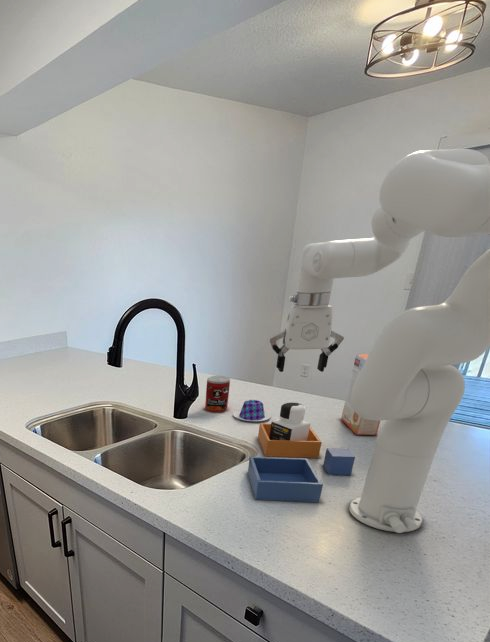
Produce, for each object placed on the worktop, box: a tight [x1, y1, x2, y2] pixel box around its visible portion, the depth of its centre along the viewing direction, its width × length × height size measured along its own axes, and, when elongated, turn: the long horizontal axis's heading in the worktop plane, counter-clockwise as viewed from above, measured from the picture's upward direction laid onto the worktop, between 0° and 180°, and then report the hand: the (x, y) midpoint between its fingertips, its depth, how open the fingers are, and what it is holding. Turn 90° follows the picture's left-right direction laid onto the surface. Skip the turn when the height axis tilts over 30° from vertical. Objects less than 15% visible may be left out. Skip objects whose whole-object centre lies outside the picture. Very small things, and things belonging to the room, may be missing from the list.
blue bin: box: [247, 456, 324, 503], centre depth 102 cm, size 13×13×5 cm
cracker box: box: [340, 353, 381, 436], centre depth 128 cm, size 14×6×21 cm, turn 168°
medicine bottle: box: [269, 402, 311, 441], centre depth 120 cm, size 7×7×12 cm
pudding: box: [232, 399, 272, 422], centre depth 145 cm, size 12×12×5 cm
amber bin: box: [257, 422, 322, 459], centre depth 122 cm, size 13×13×5 cm
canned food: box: [204, 375, 231, 413], centre depth 152 cm, size 8×8×11 cm
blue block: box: [322, 447, 356, 476], centre depth 108 cm, size 5×5×5 cm
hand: (300, 370), depth 113 cm, fingers open, 9 cm apart
